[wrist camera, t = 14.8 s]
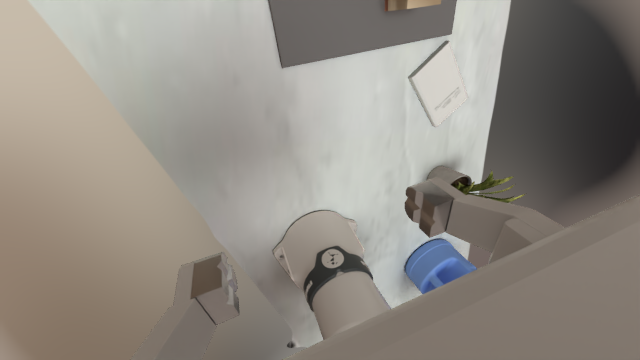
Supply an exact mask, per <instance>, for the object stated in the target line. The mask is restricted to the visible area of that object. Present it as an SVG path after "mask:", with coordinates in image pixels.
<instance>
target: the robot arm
mask: <svg viewBox="0 0 640 360" xmlns="http://www.w3.org/2000/svg"><path fill="white" fill-rule="evenodd" d="M406 196H407V197H408V198H407V200H406V201H405V211H406V214H407V215H408V217H409V218H410V219H411V220H412V221H413V222H416V223H419V228H420V229H421V230H422V231H423V232H424V233H425V234H426V235H427V236H428V237H429V238H430V237H433V236H435V235H438V234H441V233H443V232H446V233H448V234H450V235H453V236H455V237H457V238H459V239H462V240H464V241H466V242H468V243H471V244H473V245H475V246H478V247H480V248H482V249H485V250H487V251H489V252H491V253H492V254H491V257H490V259H489V264H488V265H485V266H483V267H481V268H479V269H477V270H475V271H472V272H470V273H468V274H466V275H464V276H462V277H459V278H457V279H455V280H453V281H451V282H449V283H446V284H444V285H442V286H440V287H438V288H436V289H433V290H431V291H429V292H427V293H425V294H423V295H420V296H418V297H416V298H414V299H412V300H410V301H407V302H405V303H403V304H401V305H399V306H397V307H395V308H392V309H391V307H390V306H389V305H388V303H387V302H386V300H385V299H384V297H383V296H382V294H381V293H380V291H379V290H378V288H377V287H376V285H375V284H374V282H373V277H372V274H371V272H370V270H369V268H368V266H367V265H366V264H365V262H364V261H363V257H364V252H365V250H364V248H363V246H362V244H361V243H360V241H359V239H358V237H357V236H356V229H357V224H356V222H355V221H354V220H350V219H345V218H343V217H342V216H341V215H339V214H337V213H335V212H332V211H318V212H313V213H310V214H308V215H306V216H304V217H302V218H300V219H299V220H297V221H296V222H295V223H294V224H293V225H292V226H291V227H290V228H289V229H288V231H287V233H286V234H285V237H284V239H283V240H282V242H281V243H280V244H279V245H278V246H277V247H276V248H275V249H274V250H273V253H274V256H275V257H276V259H277V260H278V262H279V263H280V264H281V266H282V267H283V268H284V270H285V271H286V272H287V274H288V275H289V276H290V278H291V279H292V280H293V282H294V283H295V284H296V286H297V287H298V288H301V289H302V290H303V292H304V293H305V297H306V300H307V303H308V304H309V306H310V309H311V310H312V311H313V312H314V313H315V316H316V319H317V322H318V325H319V328H320V331H321V334H322V337H323V341H321V342H319V343H317V344H315V345H312V346H310V347H308V348H306V349H304V350H302V351H299V352H298V353H295V354H293V355H291V356H289V357H287V358H285V359H282V360H640V195H637V196H634V197H632V198H630V199H628V200H626V201H624V202H621V203H620V204H617V205H615V206H613V207H611V208H608V209H606V210H604V211H602V212H600V213H598V214H596V215H593V216H591V217H589V218H587V219H585V220H583V221H581V222H578V223H576V224H574V225H572V226H570V227H568V228H565V227H563V226H561V225H560V224H558V223H556V222H554V221H552V220H550V219H549V218H547V217H546V216H544V215H542V214H540V213H539V212H537V211H535V210H534V209H530V208H526V207H522V206H517V205H513V204H509V203H505V202H500V201H496V200H492V199H487V198H483V197H479V196H474V195H470V194H468V195H465V194H463V193H462V192H460V191H459V190H457V189H456V188H454V187H453V186H451V185H450V184H448V183H447V182H445V181H444V180H442V179H441V178H438V177H435V178H432V179H429V180H427V181H424V182H421V183H419V184H416V185H413V186H410V187H408V188H407V189H406ZM236 290H237V280H236V276H235V272H234V270H233V268H232V266H231V265H229V264H228V262H227V257H226V255H225V253H224V252H221V253H218V254H215V255H212V256H208V257H205V258H202V259H199V260H196V261H194V262H191V263H188V264H185V265H181V267H180V269H179V273H178V279H177V285H176V291H175V297H174V304H173V306H172V307H170V308H168V309H167V311H166V312H165V313H164V315H163V316H162V317H161V319H160V320H159V321H158V323H157V324H156V325H155V327H154V328H153V330H152V331H151V332H150V334H149V335H148V336H147V338H146V339H145V340H144V342H143V343H142V345H141V346H140V347H139V348H138V350H137V351H136V353H135V354H134V355H133V356H132V358H131V359H130V360H202V358H203V356H204V354H205V351H206V349H207V347H208V345H209V342H210V340H211V338H212V336H213V333H214V331H215V329H216V325H218V324H220V323H223V322H225V321H227V320H229V319H231V318H234V317H236V316H238V315H239V301H238V297H237V296H236V294H235V292H236Z"/></svg>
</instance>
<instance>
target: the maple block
mask: <svg viewBox="0 0 640 360" xmlns="http://www.w3.org/2000/svg"><path fill="white" fill-rule="evenodd" d="M438 4H441V0H385V11H394V10H404V9H411V8H418V7H425V6H431V5H438Z"/></svg>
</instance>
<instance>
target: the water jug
mask: <svg viewBox="0 0 640 360" xmlns="http://www.w3.org/2000/svg"><path fill="white" fill-rule="evenodd" d="M475 270H477V268H476V267H475V266H474V265H473V264H472V263H470V262H469V261H467V260H466V259H465V258H464V257H463V256H462V255H461V254H460V253H459V252H458V251H457V250H455V249H454V247H453V246H452V245H451V244H450V243H449V242H448V241H446V240H442V239H438V240H433V241H430V242H428V243H426V244H424V245H423V246H421V247H420V248H419V249H417V250H416V251H415V252H414V253H413V254H412V256H411V257H410V258H409V260H408V262H407V265H406V273H407V275H408V277H409V278H410V279H411V280H412V281H413V282H414V284H415V285H416V286H417V287H418V289H419V290H420V291H421V293H422V294H425V293H427V292H429V291H431V290H433V289H436V288H438V287H440V286H442V285H444V284H446V283H449V282H451V281H453V280H455V279H457V278H459V277H462V276H464V275H466V274H468V273H470V272H472V271H475Z"/></svg>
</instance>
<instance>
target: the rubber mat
mask: <svg viewBox="0 0 640 360" xmlns="http://www.w3.org/2000/svg"><path fill="white" fill-rule="evenodd" d="M456 2H457V0H441V4H438V5H431V6H425V7H418V8H411V9H404V10H394V11H385V0H269V5H270V10H271V15H272V20H273V25H274V30H275V35H276V40H277V45H278V50H279V55H280V60H281V65H282V68H285V67H290V66H295V65H300V64H305V63H310V62H315V61H320V60H325V59H330V58H335V57H340V56H345V55H350V54H355V53H360V52H365V51H370V50H375V49H380V48H385V47H390V46H395V45H400V44H405V43H410V42H415V41H420V40H425V39H430V38H435V37H440V36H445V35H450V34H452V28H453V21H454V15H455V8H456Z"/></svg>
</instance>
